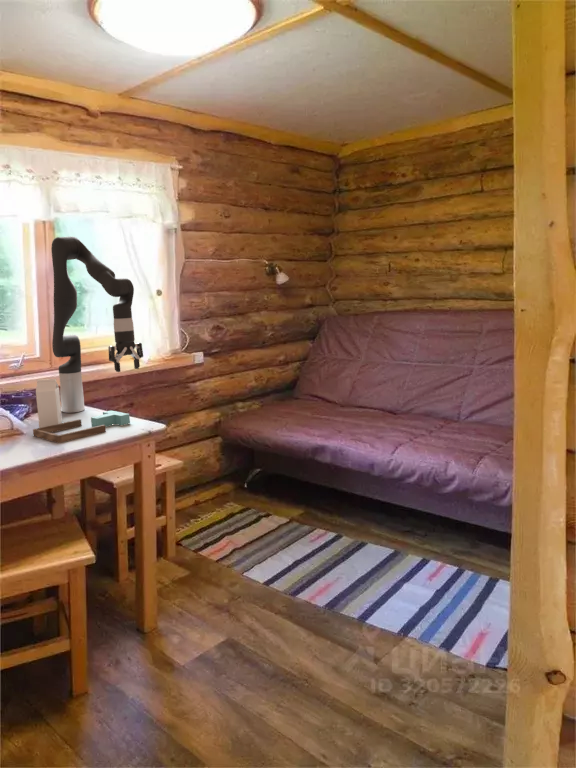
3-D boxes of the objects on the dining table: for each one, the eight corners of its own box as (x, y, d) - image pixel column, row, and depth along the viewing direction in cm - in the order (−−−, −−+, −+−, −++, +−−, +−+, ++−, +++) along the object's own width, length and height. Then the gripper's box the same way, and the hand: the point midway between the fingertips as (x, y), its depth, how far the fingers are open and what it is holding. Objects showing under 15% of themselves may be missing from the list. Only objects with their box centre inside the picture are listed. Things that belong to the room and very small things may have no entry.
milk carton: (58, 428, 233) (54, 380, 229) (39, 430, 232) (34, 381, 228) (62, 424, 240) (58, 377, 236) (43, 425, 239) (39, 378, 235)
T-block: (86, 425, 236) (85, 416, 236) (112, 419, 245) (111, 410, 245) (103, 430, 229) (103, 419, 228) (130, 423, 238) (129, 413, 237)
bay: (33, 436, 223) (32, 429, 222) (79, 425, 237) (79, 419, 237) (58, 443, 212) (58, 436, 211) (105, 431, 226) (105, 425, 226)
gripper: (134, 328, 245) (137, 367, 248) (102, 331, 235) (106, 372, 238) (144, 328, 240) (148, 368, 243) (113, 331, 230) (117, 373, 233)
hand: (127, 370), depth 240 cm, fingers open, 8 cm apart
